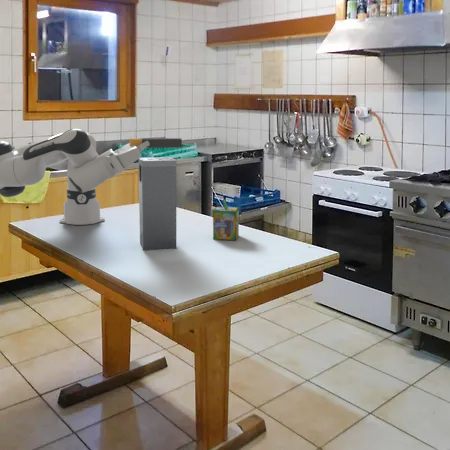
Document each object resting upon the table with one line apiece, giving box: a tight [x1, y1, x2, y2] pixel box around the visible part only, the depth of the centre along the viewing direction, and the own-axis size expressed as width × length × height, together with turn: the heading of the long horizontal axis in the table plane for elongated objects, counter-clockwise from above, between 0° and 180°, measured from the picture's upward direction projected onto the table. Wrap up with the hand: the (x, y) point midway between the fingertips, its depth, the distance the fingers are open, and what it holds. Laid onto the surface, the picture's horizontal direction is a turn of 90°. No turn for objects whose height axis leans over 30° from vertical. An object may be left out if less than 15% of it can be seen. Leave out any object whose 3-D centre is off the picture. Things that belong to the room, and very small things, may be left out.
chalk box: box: [212, 199, 240, 241], centre depth 226 cm, size 9×9×15 cm
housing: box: [138, 156, 177, 251], centre depth 210 cm, size 10×12×32 cm
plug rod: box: [128, 137, 183, 149], centre depth 205 cm, size 3×18×3 cm, turn 105°
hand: (147, 141), depth 204 cm, fingers closed on plug rod, 3 cm apart
